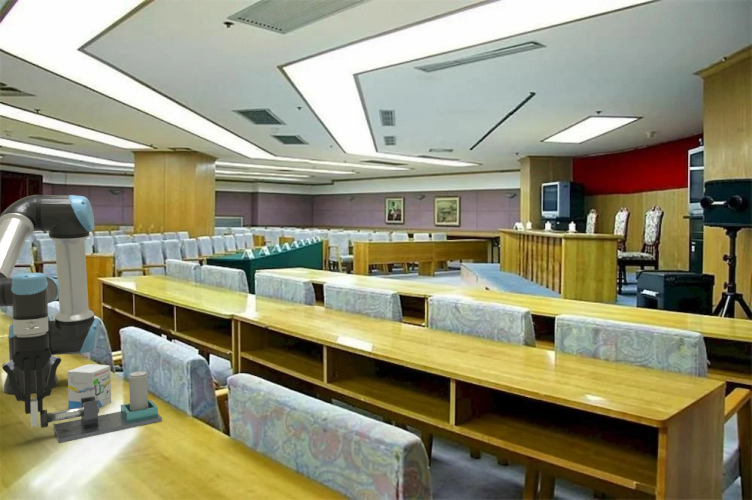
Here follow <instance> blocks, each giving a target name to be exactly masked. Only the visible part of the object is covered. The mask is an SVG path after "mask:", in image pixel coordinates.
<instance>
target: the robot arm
mask: <svg viewBox="0 0 752 500" xmlns="http://www.w3.org/2000/svg"><path fill="white" fill-rule="evenodd" d="M94 230H95V215H94V211H93V207H92V204H91V202H90V200H89V199H88V197H86V196H83V195H75V194H66V195H65V194H59V195H58V194H53V195H51V194H33V195H28V196H25V197H23V198H22V197H21V198H20V199H18V200H16V201H14V202H13V203H11V204H10V205H9V206H8V207H6V209H4V211H2V213H1V214H0V307H1V308H2V307H12V323H11V324H10V325H9V327H8V336H7V339H8V355H9V357H8V359H9V361H7V362H6V363H5V362H4V363H3V364H2V365H1V367H2V370H3V371H4V372H5V373H6V378H5V380H4V384H3V387H4V388H3V389H4V393H6V394H11V395H14V397H15V400H16V401H18V402H20V401H21V402H24V412H25V415H29V414H30V415H29V416H30V426H31V428H33V427H38V426H39V413H40V412H41V411H42V410H44V405H43V404H44V403H43V401H44V400H43V399H44V398H46V397H49V396H51V393H52V390H53V388H54V387H57V385H58V383H59V382H58V375H57V370H58V367H59V365H60V364H61V363H62V358H61V357H60V356H61V355H75V354H77V355H78V354H79V355H81V354H86V353H92V352H94V351H95V350H96V347H97V346H98V342H99V336H100V329H101V327H100V326H101V321H100V320H101V319H100V318H98V317H95V313H94V312H93V310H91V309H90V307H89V294H88V293H89V292H88V291H89V289H88V276H87V259H86V257H87V256H86V240H87V239H88V238H89V237H90V233H91V232H93V231H94ZM35 232H48V238H49V239H50V240H52V241H53V242H54V247H55V248H54V249H55V262H56V273H57V275H56V277H57V279H55V278H53V277H52V276H49V275H47V274H45V273H43V272H25V273H17V274H14V275H13V276H12V274H13V270H15V269H14V268H15V267H16V264H17V261H18V259H19V257H20V254H21V252H22V250H23V248H24V245H25V242H26V240H27V238H29V237H31V236H32V235H33V233H35ZM11 276H12V277H11ZM57 297H58V304H59V305H58V306H59V312H58V313H56V315H55V316H54V320H51V318H50V316H49V313H48V311H49V309H48V305H49V304H51V303H52V302H53V301H55V299H56V298H57ZM59 355H60V356H59ZM33 393H34V394H35V395H36V397H34V398H31V394H33Z"/></svg>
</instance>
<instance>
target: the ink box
mask: <svg viewBox="0 0 752 500" xmlns="http://www.w3.org/2000/svg"><path fill="white" fill-rule="evenodd" d="M111 371H112V370H111V365H107V364H93V363H91V364H88V363H87V364H84V365H81V366H78V367H75V368H73V369H70V370H68V371H67V394H68V395H67V396H68V398H67V399H68V401H67V402H68V409H74V408H79V407H81V398H85V397H91V396H95V400H97V401H98V406H99V409H100V408H101V407H104V406H105V405H106V406H107V405H108V404H110V403H111V402H112V386H111V385H112V384H111V382H112V380H111V375H112V374H111Z"/></svg>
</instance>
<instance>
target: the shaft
mask: <svg viewBox="0 0 752 500" xmlns="http://www.w3.org/2000/svg"><path fill="white" fill-rule="evenodd" d="M99 413H100V408H99V406H98V414H99ZM81 416H84V415H83V407H79V408H74V409H69V408H67V409H65V410H58V411H57V410H56V411H52V412H48V409H43V410H42V411H41V412H39V424H40V429H43V428H48V427H49V424H50V423H53V422H58V421H65V420H70V419H74V418H79V417H80V418H81Z"/></svg>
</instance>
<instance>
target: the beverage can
mask: <svg viewBox="0 0 752 500" xmlns="http://www.w3.org/2000/svg"><path fill="white" fill-rule="evenodd" d="M148 377H149V376H148V372H147V371H145V370H138V371H134V372H133V371H132V372H130V373H129V377H128V385H129V386H128V388H129V390H128V391H129V403H130V412H131V411H137V410H142V409H147V408H148V400H149V382H148V381H149V380H148Z"/></svg>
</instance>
